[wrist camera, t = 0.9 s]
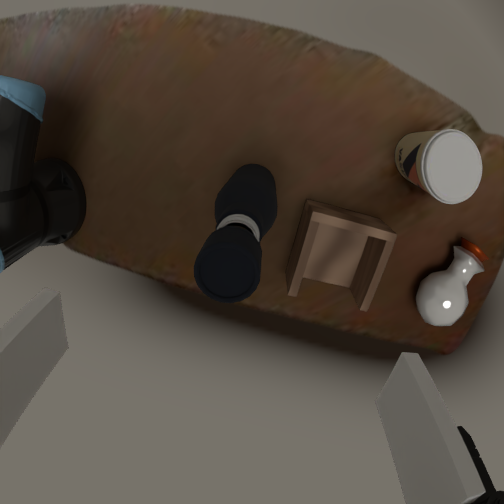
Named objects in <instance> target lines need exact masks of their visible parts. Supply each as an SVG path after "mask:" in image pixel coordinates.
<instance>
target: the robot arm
mask: <svg viewBox="0 0 504 504" xmlns="http://www.w3.org/2000/svg"><path fill="white" fill-rule="evenodd" d="M45 100H46V94H45V91H44V89H43V88H42V87H41V86H39V85H36V84H34V83H31V82H27V81H24V80H20V79H16V78H11V77H7V76H2V75H0V273H1V272H2V271H3V270H4V269H6V268H7V267H9V266H10V265H11V264H13V263H14V262H15V261H17V260H18V259H20V258H21V257H23V256H24V255H26V254H27V253H29V252H30V251H32V250H33V249H34V248H36V247H38V246H48V245H57V244H61V243H63V242H65V241H67V240H68V239H70V238H71V237H73V236H74V235H75V234H76V233H77V232H78V230H79V229H80V227H81V225H82V223H83V220H84V217H85V211H86V198H85V192H84V188H83V185H82V183H81V181H80V178H79V177H78V175H77V173H76V172H75V171H74V170H73V168H72V167H71V166H69V165H68V164H67V163H65V162H64V161H62V160H59V159H55V158H48V159H43V160H39V161H37V162H35V163H34V157H35V151H36V145H37V140H38V134H39V129H40V124H41V123H42V122H43V118H42V115H43V110H44V105H45ZM67 349H68V342H67V337H66V331H65V325H64V319H63V312H62V304H61V296H60V292H59V291H55V290H52V289H49V288H44V289H42V290H41V291H40V292H39V293H38V294H37V295H36V296H35V297H33V298H32V299H31V300H30V301H29V302H28V303H27V304H26V305H25V306H24V307H23V308H22V309H20V310H19V311H18V312H17V313H16V314H15V315H14V316H13V317H12V318H11V319H10V320H9V321H8V322H7V323H6V324H5V325H4V326H3V327H2V328H1V329H0V448H1V446H2V445H3V443H4V441H5V440H6V438H7V437H8V435H9V433H10V432H11V430H12V429H13V427H14V425H15V424H16V422H17V421H18V419H19V417H20V416H21V415H22V413H23V412H24V410H25V409H26V407H27V406H28V404H29V403H30V401H31V400H32V398H33V397H34V395H35V394H36V392H37V391H38V389H39V388H40V386H41V385H42V384H43V382H44V381H45V379H46V378H47V377H48V375H49V374H50V372H51V371H52V370H53V368H54V367H55V365H56V364H57V363H58V361H59V360H60V359H61V357H62V356H63V355H64V353H65V352H66V350H67ZM375 403H376V405H377V409H378V412H379V414H380V418H381V421H382V424H383V427H384V430H385V433H386V436H387V440H388V443H389V446H390V450H391V453H392V456H393V460H394V463H395V466H396V470H397V473H398V477H399V480H400V484H401V488H402V491H403V495H404V499H405V502H406V504H504V491H496V489H495V488H494V486H493V484H492V481H491V479H490V476H489V474H488V472H487V470H486V467H485V465H484V463H483V461H482V459H481V458H480V457H479V456H480V454H479V452H478V450H477V449H475V447H476V446H475V444H474V442H473V440H472V438H471V436H470V435H469V434H468V433H467V432H466V430H465V429H464V428H463V427H462V426H458V427H457V426H456V424H455V422H454V420H453V418H452V416H451V414H450V412H449V410H448V408H447V407H446V405H445V403H444V401H443V399H442V397H441V395H440V393H439V391H438V389H437V387H436V385H435V384H434V382H433V380H432V378H431V376H430V374H429V373H428V371H427V369H426V367H425V365H424V364H423V362H422V360H421V358H420V356H419V355H418V353H404V352H402V354H401V356H400V357H399V359H398V361H397V363H396V365H395V367H394V369H393V371H392V372H391V374H390V376H389V378H388V380H387V382H386V383H385V385H384V387H383V389H382V390H381V392H380V394H379V396H378V397H377V399H376V400H375Z"/></svg>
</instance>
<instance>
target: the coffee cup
mask: <svg viewBox="0 0 504 504" xmlns="http://www.w3.org/2000/svg"><path fill="white" fill-rule="evenodd" d="M395 163H396V166H397V168H398V170H399V172H400V173H401V175H402V176H403V177H404V178H406V179H407V180H409V181H410V182H412V183H413V184H415V185H416V186H418V187H420V188H421V189H423V190H424V191H426V192H427V193H429V194H431V195H432V196H433V197H434V198H436V199H437V200H439V201H440V202H443V203H447V204H457V203H460V202H462V201H464V200H466V199H468V198H469V197H470V196H471V195H472V194H473V193H474V192H475V191H476V189H477V187H478V185H479V183H480V180H481V175H482V161H481V156H480V153H479V151H478V148H477V147H476V145H475V144H474V142H473V141H472V140H471V139H470V138H469V137H468V136H467V135H466V134H464V133H463V132H461V131H458V130H454V129H446V130H440V131H426V132H416V133H411V134H408V135H406V136H404V137H403V138H402V139H401V140H400V141H399V143H398V145H397V147H396V150H395Z"/></svg>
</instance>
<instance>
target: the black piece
mask: <svg viewBox="0 0 504 504" xmlns="http://www.w3.org/2000/svg"><path fill="white" fill-rule="evenodd" d="M276 216H277V197H276V188H275V181H274V178H273V176H272V174H271V173H270V171H269V170H267V169H266V168H265V167H263V166H261V165H258V164H248V165H244V166H242V167H241V168H239V169H238V170H237V171H236V172H235V173H234V175H233V176H232V177H231V178H230V179H229V181H228V182H227V183H226V184H225V186H224V187H223V188H222V189H221V191H220V192H219V193H218V196H217V198H216V201H215V219H216V222H217V225H216V231H214V232H212V233H211V235H210V236H209V237H208V238H207V240H206V242H205V243H204V245H203V247H202V249H201V251H200V252H199V254H198V256H197V258H196V261H195V264H194V277H195V280H196V283H197V285H198V287H199V288H200V289H201V290H202V292H203V293H204V294H206V295H207V296H208V297H210V298H211V299H214V300H216V301H219V302H224V303H234V302H239V301H242V300H244V299H246V298H247V297H249V296H250V295H251V294H252V293H253V292H254V291H255V290H256V288H257V286H258V284H259V281H260V272H261V257H262V250H261V247H260V241H261V239H262V237H263V236H264V235H265V234H266V233H267V231H268V230H269V229H270V228H271V227H272V225H273V223H274V221H275V218H276Z"/></svg>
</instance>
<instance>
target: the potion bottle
mask: <svg viewBox="0 0 504 504" xmlns="http://www.w3.org/2000/svg"><path fill="white" fill-rule="evenodd" d="M461 239H462V244H461V246H454V260H453V261H452V263H451V265H450V266H449V268H448V269H447V270H445V271H438V272H432V273H431V274H430V275H428V276H427V277H426V278H424V279H423V280H422V281H421V282H420V285H419V288H418V291H417V294H416V303H417V310H418V312H419V313H420V315H421V317H422V318H423V320H424V321H425V322H426V323H429V324H432V325H435V326H451V325H452V324H453V323H455V322H456V321H457V320H458V319H459V318H460V317H462V316H463V314H464V312H465V309H466V307H467V305H468V296H467V289H466V285H467V284H468V282H469V281H470V279H471V277H472V276H473V274H475V273H479V272H482V271H485V270H484V268H483V265H482V262H483V261H484V260H487V259H489V258H488V257H487V256H486V255H485V254H484V253H483V252H482V251H481V249H480V248H479V247H478V246H476V245H474V244H473V243H471V242H469V241H468V240H466V239H464V238H462V237H461Z"/></svg>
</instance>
